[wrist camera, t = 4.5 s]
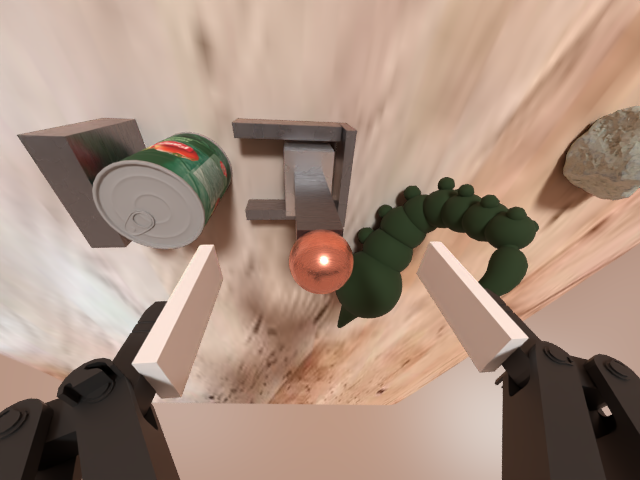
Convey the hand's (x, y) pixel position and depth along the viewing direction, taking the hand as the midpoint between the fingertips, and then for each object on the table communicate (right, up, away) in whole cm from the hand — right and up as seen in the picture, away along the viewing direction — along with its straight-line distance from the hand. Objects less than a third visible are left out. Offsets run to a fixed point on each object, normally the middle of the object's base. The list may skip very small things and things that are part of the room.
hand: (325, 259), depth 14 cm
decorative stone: (+38, +14, +18) cm, 44 cm away
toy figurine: (+9, +2, +22) cm, 23 cm away
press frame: (-10, +10, +13) cm, 20 cm away
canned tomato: (-15, +10, +13) cm, 22 cm away
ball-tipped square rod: (-2, +10, +14) cm, 17 cm away
